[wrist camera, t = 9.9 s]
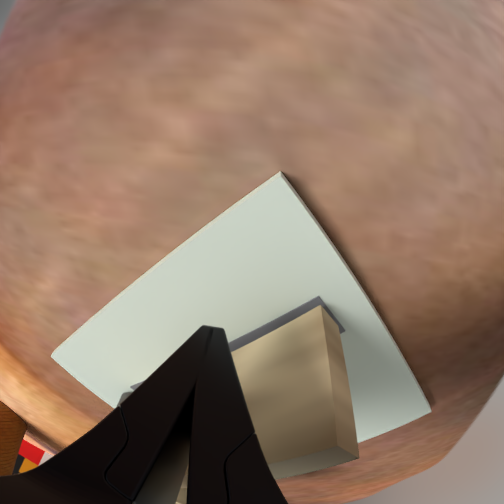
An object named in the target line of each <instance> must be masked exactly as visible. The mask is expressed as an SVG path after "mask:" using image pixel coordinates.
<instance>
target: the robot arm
mask: <svg viewBox="0 0 504 504" xmlns="http://www.w3.org/2000/svg"><path fill="white" fill-rule="evenodd" d="M188 463H189V464H188ZM187 466H188V480H187V500H186V504H288V503H287V501H286V499H285V497H284V496H283V494H282V492H281V490H280V489H279V487H278V485H277V483H276V481H275V479H274V477H273V475H272V473H271V471H270V469H269V467H268V464H267V462H266V459H265V456H264V454H263V451H262V449H261V446H260V443H259V440H258V437H257V434H255V428H254V425H253V422H252V419H251V416H250V413H249V410H248V407H247V403H246V400H245V397H244V394H243V391H242V387H241V384H240V381H239V377H238V374H237V371H236V367H235V364H234V361H233V357H232V354H231V350H230V347H229V343H228V340H227V336H226V333H225V330H224V328H221V327H214V326H208V325H202V326H201V327H200V328H199V329H198V330H196V331H195V332H194V333H193V334H192V335H191V336H190V337H189V338H188V339H187V340H186V341H185V342H184V343H183V344H182V345H181V346H180V347H179V348H178V349H177V350H176V351H175V352H174V353H173V354H172V355H171V356H170V357H169V358H168V359H167V360H166V361H164V362H163V363H162V364H161V365H160V366H159V367H158V368H157V369H156V370H155V371H154V372H153V373H152V374H151V375H150V376H149V377H148V378H147V379H146V380H145V381H144V382H143V383H142V384H140V385H139V386H138V387H137V388H136V389H135V390H134V391H133V392H132V393H131V394H130V395H129V396H128V397H127V398H126V399H125V400H124V401H123V402H121V403H120V406H117V407H116V408H115V409H114V410H113V411H112V412H111V413H110V414H109V415H107V416H106V417H105V418H104V419H103V420H102V421H101V422H99V423H98V424H97V425H96V426H95V427H94V428H92V429H91V430H90V431H88V432H87V433H86V434H84V435H83V436H82V437H80V438H79V439H78V440H76V441H75V442H73V443H72V444H70V445H69V446H68V447H66V448H65V449H63V450H62V451H60V452H59V453H57V454H56V455H54V456H53V457H51V458H50V459H48V460H47V461H45V462H44V463H42V464H41V465H39V466H37V467H35V468H33V469H31V470H29V471H26V472H23V473H19V474H13V475H5V476H0V504H175V503H176V500H177V497H178V494H179V491H180V488H181V485H182V482H183V478H184V475H185V472H186V469H187Z"/></svg>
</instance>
